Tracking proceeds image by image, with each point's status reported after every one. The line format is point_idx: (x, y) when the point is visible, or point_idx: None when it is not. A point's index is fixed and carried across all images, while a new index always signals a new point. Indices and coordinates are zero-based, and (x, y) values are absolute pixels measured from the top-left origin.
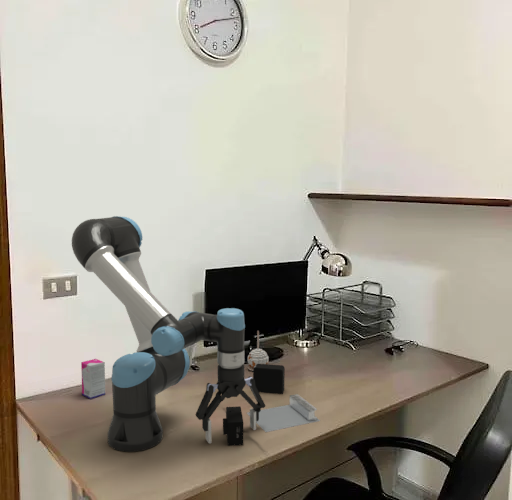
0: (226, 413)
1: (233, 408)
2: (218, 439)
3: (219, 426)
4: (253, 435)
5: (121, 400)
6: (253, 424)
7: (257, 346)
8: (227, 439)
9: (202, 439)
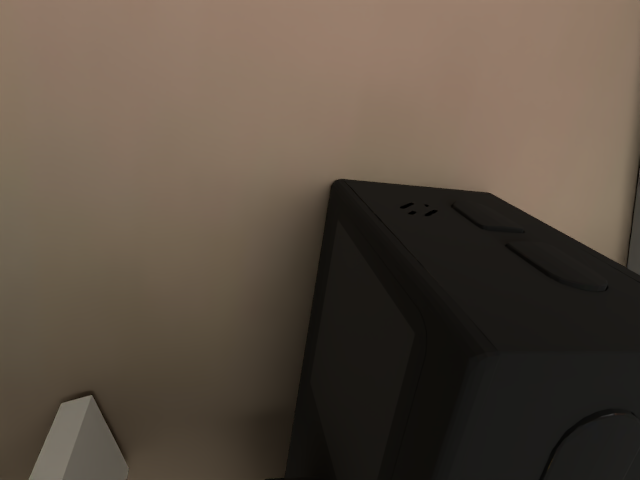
0: (397, 474)
1: (596, 458)
2: (210, 390)
3: (260, 87)
4: None
5: None
6: None
7: None
8: (294, 452)
9: (24, 380)
